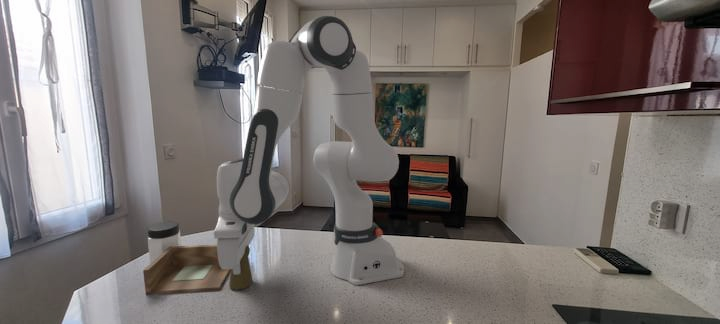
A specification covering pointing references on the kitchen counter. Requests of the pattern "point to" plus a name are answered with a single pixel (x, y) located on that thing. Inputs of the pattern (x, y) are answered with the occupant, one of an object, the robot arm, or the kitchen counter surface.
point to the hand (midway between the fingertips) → (240, 267)
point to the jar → (162, 238)
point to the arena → (185, 270)
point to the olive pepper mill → (242, 273)
